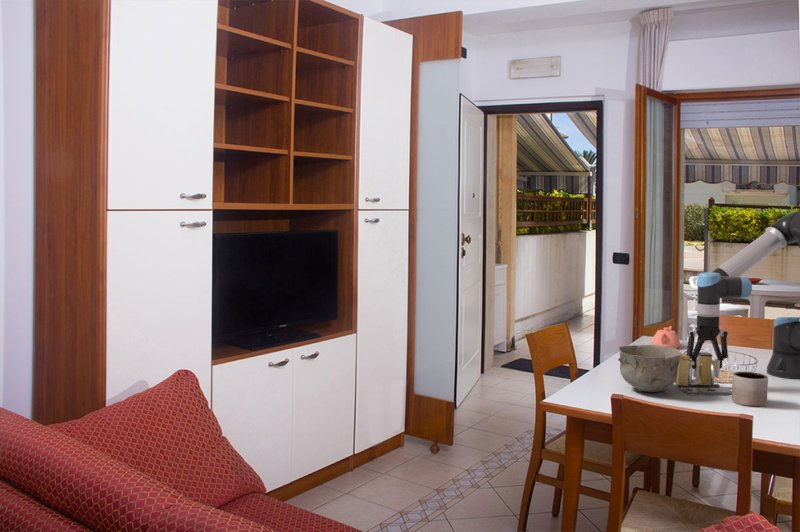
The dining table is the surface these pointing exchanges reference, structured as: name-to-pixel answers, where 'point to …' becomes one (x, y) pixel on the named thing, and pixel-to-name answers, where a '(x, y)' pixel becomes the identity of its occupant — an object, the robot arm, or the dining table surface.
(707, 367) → the sliding leg
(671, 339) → the teapot
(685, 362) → the fixed leg
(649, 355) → the bowl
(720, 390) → the hole plate
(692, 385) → the rail
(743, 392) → the planter
